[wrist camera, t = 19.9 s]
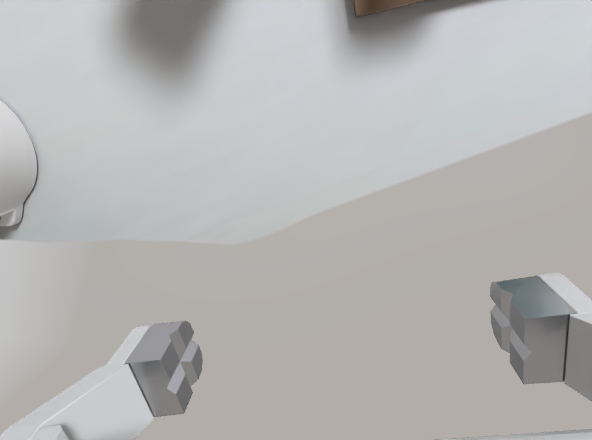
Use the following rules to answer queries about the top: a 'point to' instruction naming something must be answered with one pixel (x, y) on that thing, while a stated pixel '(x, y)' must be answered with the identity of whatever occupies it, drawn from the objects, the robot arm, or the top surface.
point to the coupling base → (379, 5)
